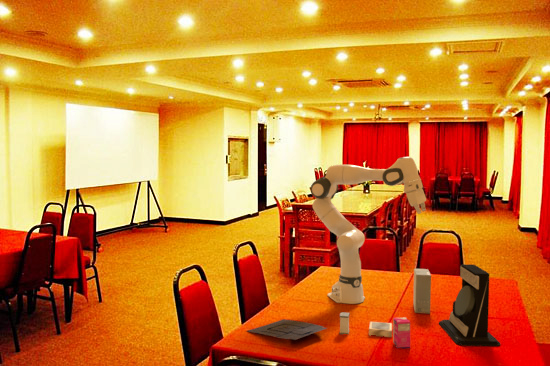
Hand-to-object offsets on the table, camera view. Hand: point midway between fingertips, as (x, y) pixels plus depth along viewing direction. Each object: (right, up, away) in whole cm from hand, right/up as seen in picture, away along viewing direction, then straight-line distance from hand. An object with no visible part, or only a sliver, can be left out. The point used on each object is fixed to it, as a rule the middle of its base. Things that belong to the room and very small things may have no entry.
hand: (421, 212), depth 258 cm
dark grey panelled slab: (-70, -54, -31) cm, 93 cm away
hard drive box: (+1, -52, +6) cm, 52 cm away
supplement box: (-22, -54, -45) cm, 74 cm away
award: (+12, -54, -30) cm, 63 cm away
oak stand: (-27, -53, -29) cm, 67 cm away
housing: (-44, -53, -29) cm, 75 cm away
